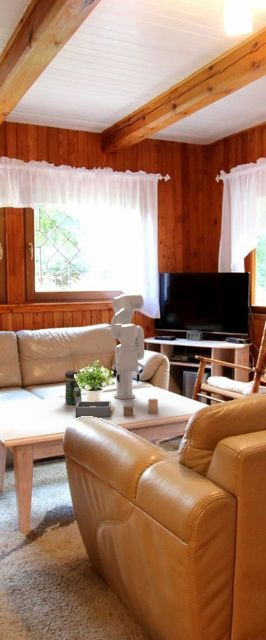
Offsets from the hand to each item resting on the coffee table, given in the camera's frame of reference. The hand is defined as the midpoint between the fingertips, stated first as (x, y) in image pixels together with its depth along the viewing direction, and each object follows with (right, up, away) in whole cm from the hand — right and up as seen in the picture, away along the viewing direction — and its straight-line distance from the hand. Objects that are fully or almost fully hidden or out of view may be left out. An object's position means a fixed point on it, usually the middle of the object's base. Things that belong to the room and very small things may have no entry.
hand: (128, 382), depth 275 cm
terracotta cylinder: (+13, -17, +5) cm, 22 cm away
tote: (-18, -17, +4) cm, 25 cm away
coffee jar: (-31, -15, +28) cm, 45 cm away
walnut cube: (0, -17, +1) cm, 17 cm away
